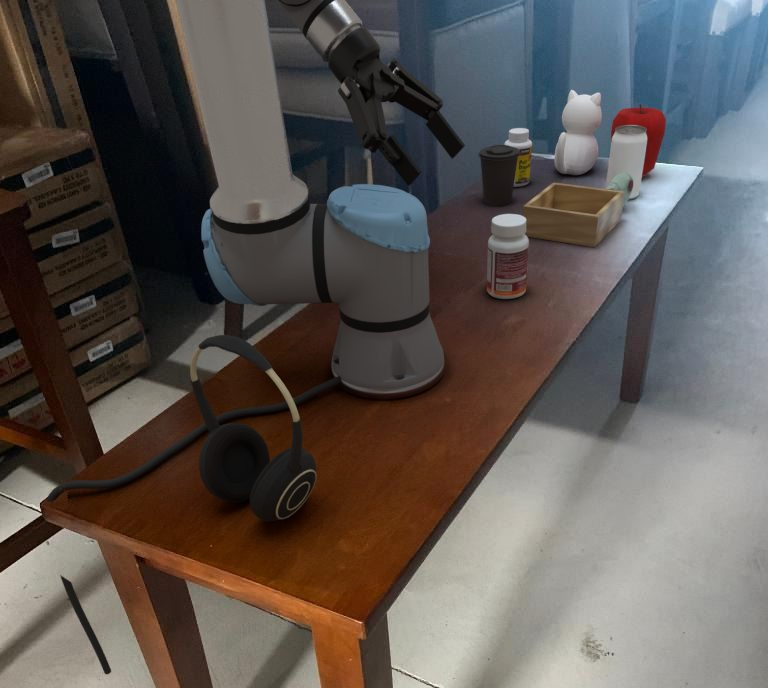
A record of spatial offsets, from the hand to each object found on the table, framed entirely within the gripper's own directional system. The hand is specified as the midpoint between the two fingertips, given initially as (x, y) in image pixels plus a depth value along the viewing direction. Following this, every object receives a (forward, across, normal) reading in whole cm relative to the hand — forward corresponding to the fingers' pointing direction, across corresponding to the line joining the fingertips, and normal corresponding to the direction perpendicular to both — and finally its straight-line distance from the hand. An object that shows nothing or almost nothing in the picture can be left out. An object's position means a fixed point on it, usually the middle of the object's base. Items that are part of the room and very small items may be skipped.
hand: (437, 165), depth 115 cm
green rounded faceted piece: (+24, -41, -1) cm, 47 cm away
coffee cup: (+8, -37, -18) cm, 42 cm away
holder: (+21, -29, -4) cm, 36 cm away
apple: (+22, -61, -4) cm, 65 cm away
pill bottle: (+21, 0, -4) cm, 22 cm away
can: (+23, -49, -3) cm, 54 cm away
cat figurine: (+13, -59, -13) cm, 62 cm away
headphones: (+20, +60, -5) cm, 63 cm away
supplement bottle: (+7, -48, -18) cm, 52 cm away
